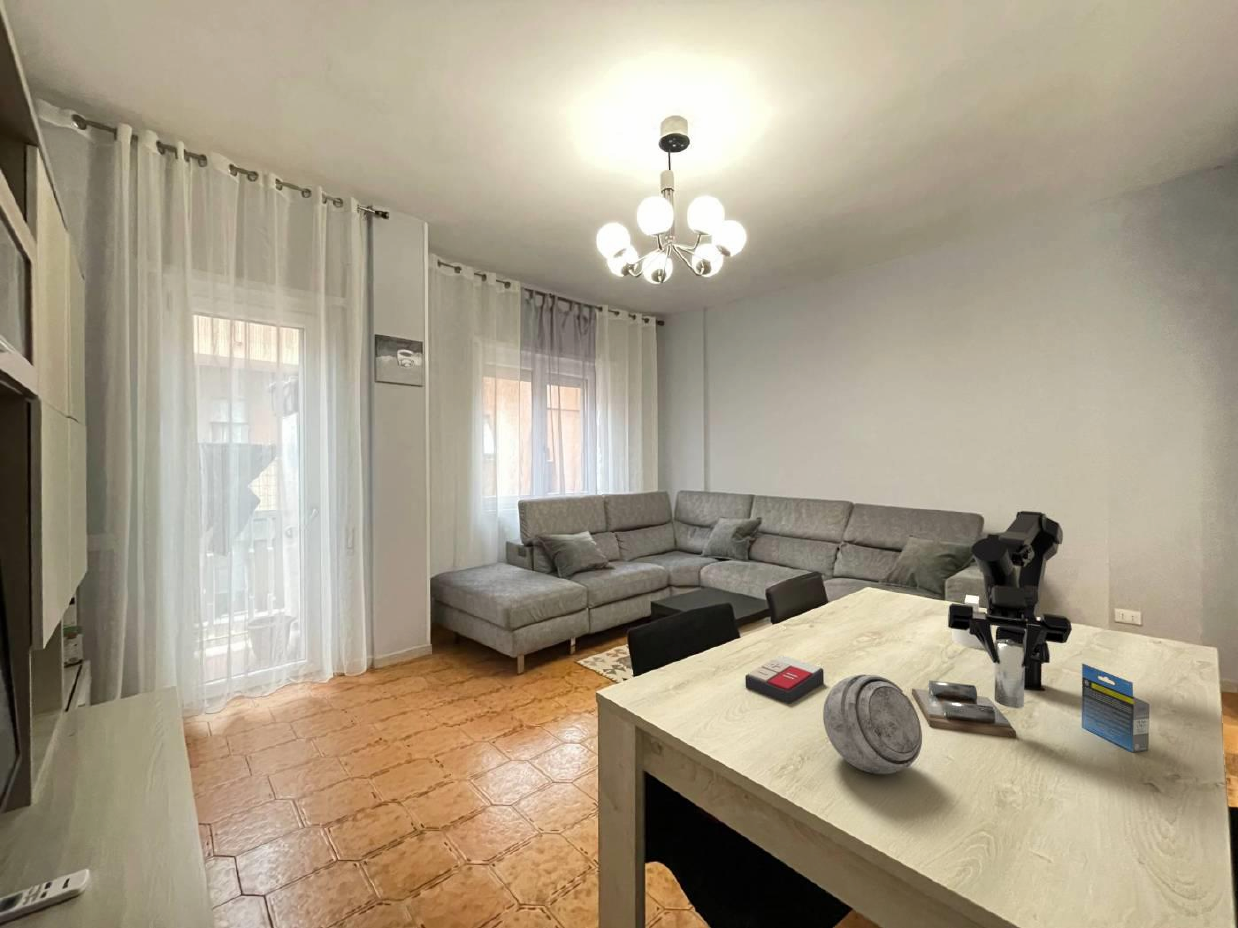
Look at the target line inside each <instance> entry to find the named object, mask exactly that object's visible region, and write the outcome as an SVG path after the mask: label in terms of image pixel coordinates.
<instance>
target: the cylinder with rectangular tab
mask: <svg viewBox="0 0 1238 928" xmlns="http://www.w3.org/2000/svg"><path fill="white" fill-rule="evenodd" d="M964 605H972V606H973V611H980V596H978V595H972V594H971V595H970V594H966V595H965V599H964ZM990 627H991V634H992V633H993V632H992V631H993V625H990ZM969 629H970V628H969ZM969 629H968V630H959V629H951V641H952V642H953V643H955V642H956V644H957V645H959V644H960V646H962V647H967V648H971V649H982V650H983V649H985V648H984V646H983V645H982V643H981V642H980V641H979V640H978V638H977V637H976V636H975V635H971V634H970V633H969ZM985 650H986V649H985Z"/></svg>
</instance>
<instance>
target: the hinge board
mask: <svg viewBox="0 0 1238 928" xmlns="http://www.w3.org/2000/svg"><path fill="white" fill-rule="evenodd" d="M915 689H916V688H911V695H912V697H913V699H914V700H915V703H916V705H917V706H918V708H919V709H920V712H921V714H922V715H923V717H924V718H925V721H926V722H927V724H928V726H929V727H931V728H939V729H946V730H954V731H961V732H962V731H963V732H968V733H978V734H983V735H992V736H1000V737H1005V738H1014V739H1016V737H1017V731H1016V730H1015V728H1014V727H1013V726H1012V725H1011V727H1006V726H998V725H991V724H990V723H984V722H976V721H968V720H960V719H952V718H948V719H944V718H936V717H929V715H928V713H927V712H926V710H925V708H924V706H923V705H922V703H921V701H920V699H919V697H918V696H917V694H916V692H915ZM927 690H928V691H929V689H927ZM980 697H982V696H980ZM936 698H937V699H938V701H939V702H940V704H941V705H942V701H951V702H959V703H968V704H974V702H973V701H971V700H963V699H954V698H946V697H937V696H936Z"/></svg>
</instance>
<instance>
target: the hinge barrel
mask: <svg viewBox="0 0 1238 928" xmlns="http://www.w3.org/2000/svg"><path fill="white" fill-rule="evenodd" d="M994 647H995V651H996V660H997V661H996V663H994V698H993V699H994V701H995V703H997V704H999V705H1002V706H1004V707H1008V708H1013V709H1022V708H1025V707H1024V706H1025V688H1024V671H1025V646H1024V645H1023V644H1021V643H1019V642H1015V641H1014V640H1011V639H1005V640H996V639H995V642H994Z"/></svg>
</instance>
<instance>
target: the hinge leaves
mask: <svg viewBox="0 0 1238 928" xmlns="http://www.w3.org/2000/svg"><path fill="white" fill-rule="evenodd" d="M914 689H915V692H916V694H917V696H918V697H919V699H920V701H921V703H922V705H923V706H924V708H925V710H926V712H927V713H928V715H929V717H936V718H944V719H948V718H952V719H960V720H968V721H976V722H984V723H990V724H991V725H998V726H1006V727H1011V726H1012V724H1011V722H1009V721H1010V720H1008V719H1007V718H1006V717H1005V715H1004V714H1003V713H1002V712H1001V711H1000V709H999V708H998V707H997V706H996V705H995V703H993V701H992V700H991V699H990V698H989V697H988V696H986V697H985V696H981V697H980V696H979V695H978V691H977V688H976V686H975V685H974V684H966V683H957V682H956V683H955V682H950V681H949V682H947V681H938V680H928V689H918V688H914ZM928 690H929V691H928ZM936 696H937V697H946V698H954V699H963V700H971V701H973V702H974V704H968V703H959V702H951V701H942V705H941V704H940V702H939V701H938V699H937V698H936Z"/></svg>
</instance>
